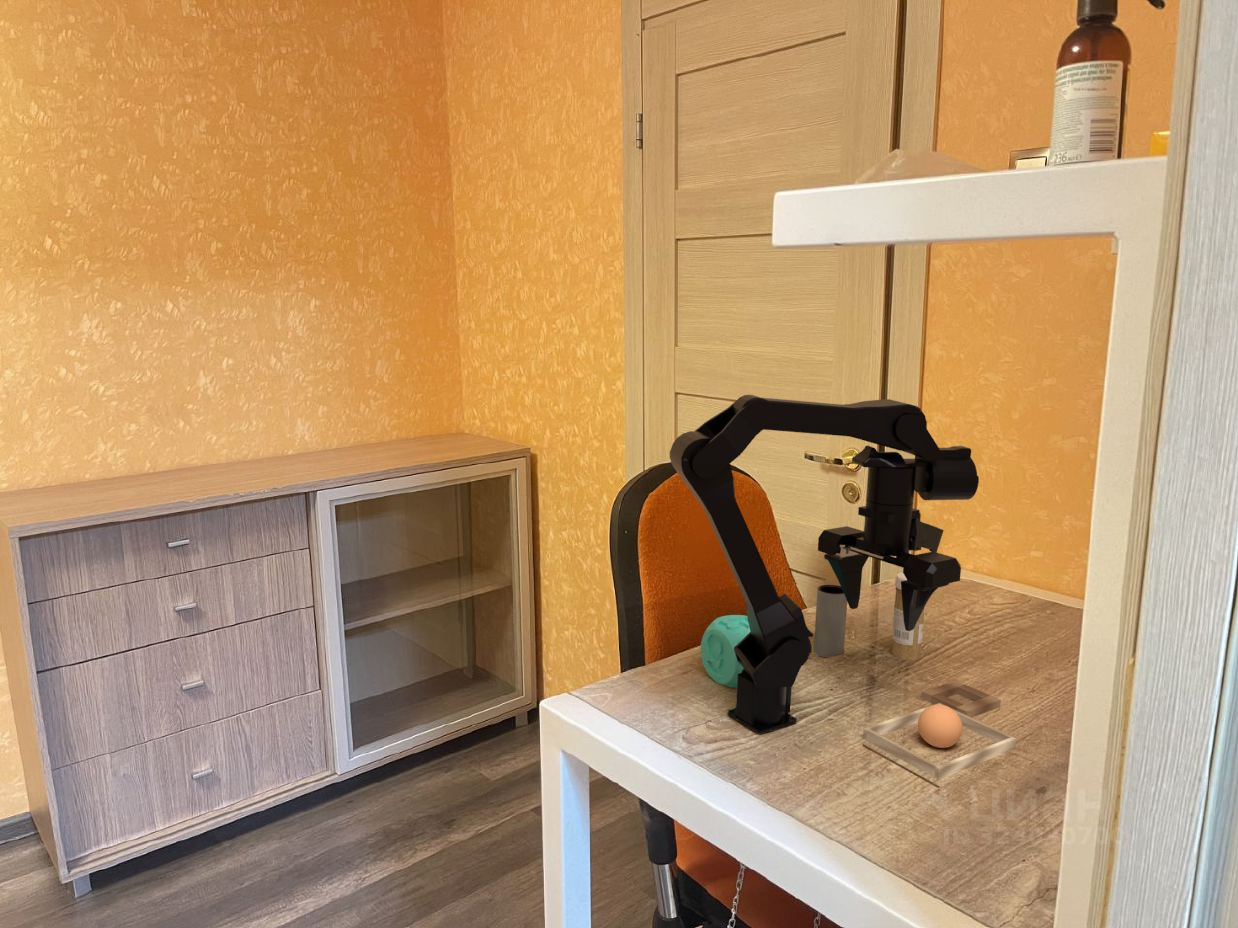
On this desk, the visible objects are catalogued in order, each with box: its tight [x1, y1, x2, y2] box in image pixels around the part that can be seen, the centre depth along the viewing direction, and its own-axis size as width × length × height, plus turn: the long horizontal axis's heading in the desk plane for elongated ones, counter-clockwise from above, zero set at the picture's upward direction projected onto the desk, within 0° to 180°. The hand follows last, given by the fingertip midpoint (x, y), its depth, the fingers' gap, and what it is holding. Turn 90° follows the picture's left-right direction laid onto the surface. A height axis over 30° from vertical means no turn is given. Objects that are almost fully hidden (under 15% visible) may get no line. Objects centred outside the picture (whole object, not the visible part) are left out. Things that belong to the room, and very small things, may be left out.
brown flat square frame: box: [921, 680, 1002, 718], centre depth 118 cm, size 7×7×2 cm
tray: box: [862, 703, 1018, 789], centre depth 107 cm, size 14×11×2 cm
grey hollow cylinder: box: [813, 584, 848, 659], centre depth 136 cm, size 4×4×10 cm
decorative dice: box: [700, 614, 751, 689], centre depth 127 cm, size 8×8×8 cm
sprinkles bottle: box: [890, 571, 925, 661], centre depth 133 cm, size 5×5×14 cm
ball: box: [917, 704, 963, 749], centre depth 106 cm, size 5×5×5 cm
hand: (880, 618), depth 114 cm, fingers open, 9 cm apart
